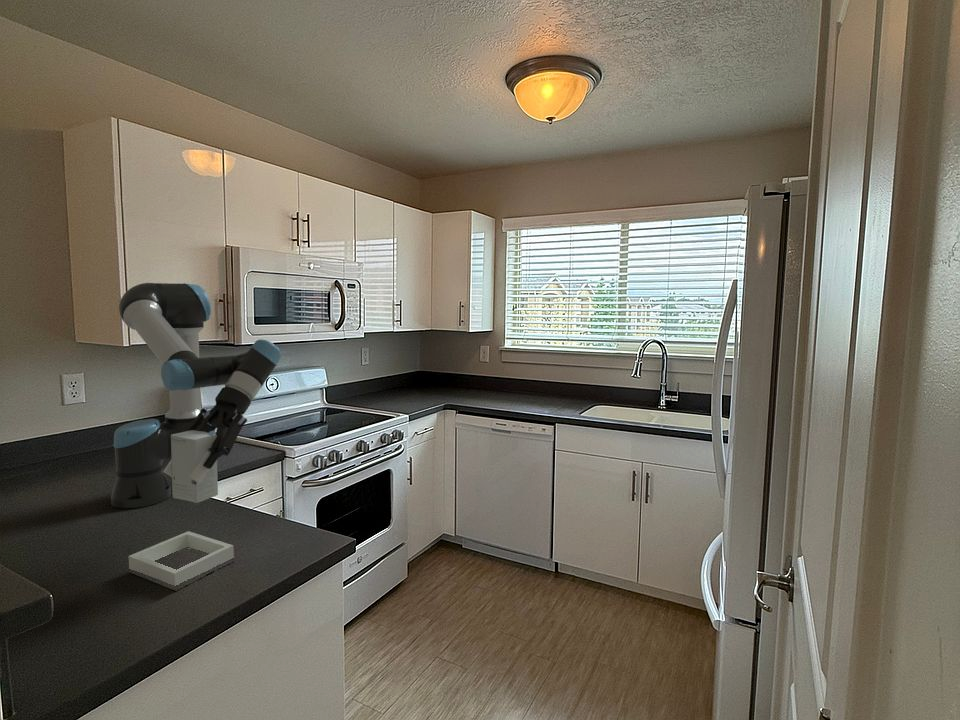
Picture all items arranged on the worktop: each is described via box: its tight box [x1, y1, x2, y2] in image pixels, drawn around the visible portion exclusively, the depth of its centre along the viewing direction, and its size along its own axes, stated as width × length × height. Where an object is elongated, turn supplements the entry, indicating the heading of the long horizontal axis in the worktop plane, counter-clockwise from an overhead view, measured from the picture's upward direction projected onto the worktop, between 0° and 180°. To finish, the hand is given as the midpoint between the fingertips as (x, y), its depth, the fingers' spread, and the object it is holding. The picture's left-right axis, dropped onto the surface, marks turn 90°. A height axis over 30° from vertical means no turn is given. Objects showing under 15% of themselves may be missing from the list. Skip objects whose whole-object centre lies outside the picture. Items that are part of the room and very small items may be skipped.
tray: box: [128, 530, 235, 586], centre depth 118 cm, size 16×14×4 cm
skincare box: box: [171, 430, 219, 504], centre depth 119 cm, size 8×6×15 cm
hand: (181, 477), depth 116 cm, fingers closed on skincare box, 8 cm apart
